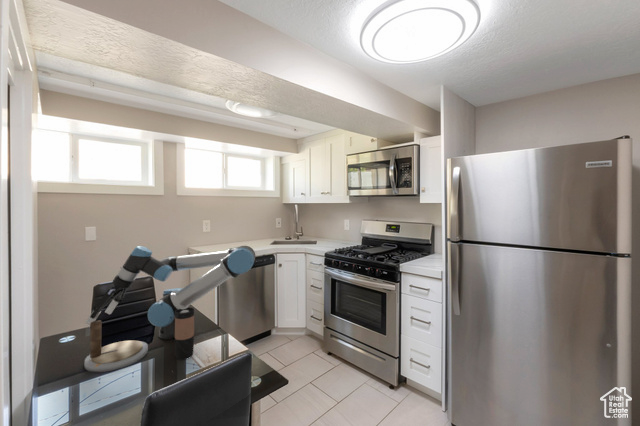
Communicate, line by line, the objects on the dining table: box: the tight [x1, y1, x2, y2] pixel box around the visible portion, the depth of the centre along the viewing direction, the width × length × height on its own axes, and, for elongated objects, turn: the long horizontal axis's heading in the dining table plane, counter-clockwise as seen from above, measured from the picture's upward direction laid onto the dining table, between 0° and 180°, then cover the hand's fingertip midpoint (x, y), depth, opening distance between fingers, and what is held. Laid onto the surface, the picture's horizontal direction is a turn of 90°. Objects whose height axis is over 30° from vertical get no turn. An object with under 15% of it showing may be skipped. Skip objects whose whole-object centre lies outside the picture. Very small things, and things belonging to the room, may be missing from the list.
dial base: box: [84, 340, 149, 373], centre depth 118 cm, size 22×22×2 cm
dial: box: [89, 319, 143, 364], centre depth 118 cm, size 18×18×15 cm
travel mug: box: [174, 307, 195, 361], centre depth 120 cm, size 8×8×20 cm
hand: (98, 318), depth 124 cm, fingers open, 13 cm apart
